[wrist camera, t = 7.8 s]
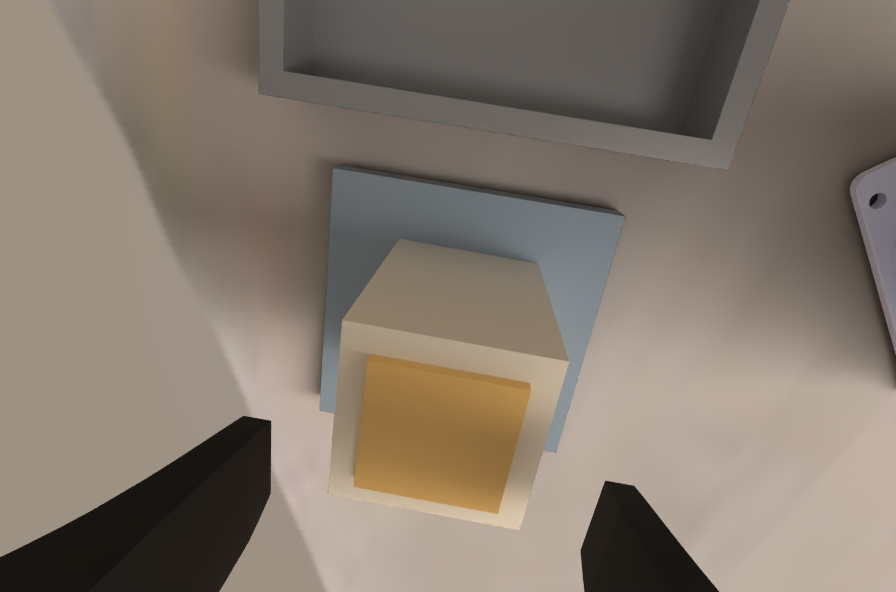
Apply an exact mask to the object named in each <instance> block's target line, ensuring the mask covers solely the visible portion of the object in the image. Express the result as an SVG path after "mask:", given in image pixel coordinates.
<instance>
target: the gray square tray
mask: <svg viewBox="0 0 896 592" xmlns="http://www.w3.org/2000/svg"><path fill="white" fill-rule="evenodd" d="M789 1H790V0H258V35H259V94H262V95H268V96H274V97H281V98H287V99H293V100H299V101H305V102H311V103H318V104H324V105H330V106H336V107H342V108H348V109H354V110H361V111H367V112H373V113H379V114H385V115H391V116H398V117H404V118H410V119H416V120H422V121H428V122H434V123H441V124H447V125H453V126H459V127H465V128H471V129H478V130H484V131H490V132H496V133H502V134H508V135H515V136H521V137H527V138H533V139H539V140H545V141H551V142H558V143H564V144H570V145H576V146H582V147H588V148H595V149H601V150H607V151H613V152H619V153H625V154H631V155H638V156H644V157H650V158H656V159H662V160H668V161H675V162H681V163H687V164H693V165H699V166H705V167H711V168H718V169H724V170H728V169H729V166H730V163H731V161H732V158H733V155H734V152H735V150H736V147H737V144H738V141H739V139H740V136H741V133H742V130H743V128H744V125H745V122H746V119H747V117H748V114H749V111H750V108H751V106H752V103H753V100H754V97H755V95H756V92H757V89H758V86H759V84H760V81H761V78H762V75H763V73H764V70H765V67H766V65H767V62H768V59H769V56H770V54H771V51H772V48H773V45H774V43H775V40H776V37H777V34H778V32H779V29H780V26H781V23H782V21H783V18H784V15H785V12H786V10H787V7H788V4H789Z"/></svg>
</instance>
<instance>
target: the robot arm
mask: <svg viewBox="0 0 896 592" xmlns="http://www.w3.org/2000/svg"><path fill="white" fill-rule="evenodd" d="M876 193H877V194H878V199H877V201H876V202H875V203H874V204H873V205H871V206H869V200H870V199H871V197H872V196H873V195H875V194H876ZM850 195H851V198H852V202H853V205H854V209H855V212H856V216H857V219H858V223H859V226H860V230H861V234H862V237H863V241H864V244H865V248H866V251H867V255H868V258H869V262H870V265H871V269H872V272H873V276H874V280H875V283H876V287H877V290H878V294H879V297H880V301H881V304H882V308H883V311H884V315H885V318H886V322H887V326H888V329H889V333H890V336H891V340H892V343H893V347H894V350H895V354H896V157H894V158H892V159H890V160H888V161H886V162H883V163H881V164H879V165H877V166H875V167H873V168H870V169H868V170H866V171H864V172H862V173H860V174H859V175H857V176H856V177H855V179H854V180H853V181H852V183H851V186H850ZM270 492H271V421H269V420H264V419H258V418H252V417H247V416H243V417H241V418H239V419H238V420H236V421H235V422H233V423H232V424H230V425H229V426H227V427H226V428H224V429H222V430H221V431H219V432H218V433H216V434H215V435H213V436H212V437H210V438H209V439H207V440H206V441H204V442H203V443H201V444H200V445H198V446H197V447H195V448H193V449H192V450H191V451H189V452H188V453H186V454H184V455H183V456H181V457H180V458H178V459H177V460H175V461H174V462H172V463H170V464H169V465H167V466H165V467H164V468H162V469H161V470H159V471H158V472H156V473H154V474H153V475H151V476H150V477H148V478H147V479H145V480H143V481H142V482H140V483H138V484H136V485H135V486H133V487H131V488H129V489H128V490H126V491H124V492H123V493H121V494H119V495H118V496H116V497H114V498H113V499H111V500H109V501H108V502H106V503H104V504H102V505H100V506H99V507H97V508H95V509H94V510H92V511H90V512H88V513H86V514H85V515H83V516H81V517H79V518H77V519H75V520H73V521H72V522H70V523H68V524H66V525H64V526H62V527H60V528H58V529H56V530H54V531H53V532H51V533H48V534H46V535H45V536H42V537H41V538H38V539H37V540H34V541H33V542H31V543H29V544H27V545H25V546H23V547H21V548H19V549H17V550H15V551H12V552H10V553H8V554H6V555H4V556H2V557H0V592H219V591H220V589H221V588H222V586H223V584H224V583H225V581H226V579H227V578H228V576H229V574H230V572H231V571H232V569H233V567H234V565H235V564H236V562H237V561H238V559H239V557H240V556H241V554H242V552H243V550H244V549H245V547H246V545H247V544H248V542H249V540H250V537H251V536H252V533H253V532H254V529H255V527H256V525H257V523H258V521H259V519H260V516H261V514H262V512H263V510H264V507H265V505H266V503H267V500H268V498H269V496H270ZM581 561H582V572H583V582H584V591H585V592H719V591H718V590H717V588H716V587H715V586H714V585H713V584H712V582H711V581H710V580H709V579H708V578H707V576H706V575H705V574H704V573H703V572H702V570H701V569H700V568H699V567H698V566H697V564H696V563H695V562H694V561H693V559H692V558H691V557H690V556H689V554H688V553H687V552H686V551H685V549H684V548H683V547H682V546H681V544H680V543H679V542H678V541H677V539H676V538H675V537H674V536H673V534H672V533H671V532H670V530H669V529H668V528H667V527H666V525H665V524H664V523H663V522H662V520H661V519H660V518H659V516H658V515H657V514H656V513H655V511H654V510H653V509H652V507H651V506H650V505H649V504H648V502H647V501H646V500H645V499H644V497H643V496H642V495H641V494H640V492H639V491H638V490H637V489H636V487H635V486H632V485H626V484H621V483H615V482H610V481H605V483H604V486H603V489H602V491H601V494H600V497H599V500H598V503H597V506H596V508H595V511H594V514H593V517H592V520H591V522H590V525H589V528H588V531H587V534H586V537H585V539H584V542H583V545H582V548H581Z"/></svg>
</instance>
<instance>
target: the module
mask: <svg viewBox="0 0 896 592" xmlns="http://www.w3.org/2000/svg"><path fill="white" fill-rule="evenodd" d="M568 365H569V359H568V356H567V353H566V349H565V346H564V343H563V340H562V337H561V333H560V330H559V327H558V324H557V321H556V317H555V314H554V311H553V308H552V305H551V302H550V298H549V295H548V292H547V289H546V286H545V282H544V279H543V276H542V273H541V270H540V266H539V264H538V263H533V262H527V261H522V260H516V259H510V258H505V257H499V256H494V255H488V254H482V253H477V252H471V251H466V250H460V249H455V248H449V247H443V246H438V245H432V244H427V243H421V242H416V241H410V240H404V239H399V240H398V241H397V243H396V244H395V246H394V247H393V249H392V250H391V251H390V253H389V254H388V256H387V257H386V259H385V260H384V261H383V263H382V264H381V266H380V267H379V269H378V270H377V271H376V273H375V274H374V276H373V277H372V279H371V280H370V281H369V283H368V284H367V286H366V287H365V288H364V290H363V291H362V293H361V294H360V296H359V297H358V298H357V300H356V301H355V303H354V304H353V306H352V307H351V308H350V310H349V311H348V313H347V314H346V316H345V317H344V318H343V320H342V329H341V341H340V353H339V365H338V377H337V389H336V401H335V413H334V424H333V436H332V448H331V460H330V472H329V484H328V494H331V495H336V496H341V497H346V498H352V499H357V500H362V501H367V502H373V503H378V504H383V505H389V506H394V507H399V508H404V509H410V510H415V511H420V512H425V513H431V514H436V515H441V516H447V517H452V518H457V519H462V520H468V521H473V522H478V523H483V524H489V525H494V526H499V527H505V528H510V529H515V530H520V527H521V523H522V520H523V517H524V513H525V510H526V506H527V503H528V500H529V496H530V493H531V490H532V486H533V483H534V479H535V476H536V473H537V469H538V466H539V463H540V459H541V456H542V452H543V449H544V446H545V442H546V439H547V436H548V432H549V429H550V425H551V422H552V419H553V415H554V412H555V409H556V405H557V402H558V398H559V395H560V392H561V388H562V385H563V382H564V378H565V375H566V371H567V368H568Z"/></svg>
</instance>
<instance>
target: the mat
mask: <svg viewBox="0 0 896 592" xmlns="http://www.w3.org/2000/svg"><path fill="white" fill-rule="evenodd" d="M624 220H625V216H624V215H623V214H622V213H620V212H619V211H617V210H611V209H605V208H599V207H593V206H587V205H581V204H575V203H569V202H563V201H557V200H551V199H545V198H539V197H533V196H527V195H521V194H515V193H509V192H502V191H496V190H490V189H484V188H478V187H472V186H466V185H460V184H454V183H448V182H442V181H436V180H430V179H424V178H418V177H412V176H406V175H400V174H393V173H387V172H381V171H375V170H369V169H363V168H357V167H351V166H345V165H340V166H337V167H335V168H333V177H332V195H331V213H330V231H329V249H328V267H327V285H326V303H325V321H324V339H323V357H322V375H321V393H320V411H324V412H330V413H335V401H336V389H337V377H338V365H339V353H340V341H341V329H342V320H343V318H344V317H345V316H346V314H347V313H348V311H349V310H350V308H351V307H352V306H353V304H354V303H355V301H356V300H357V298H358V297H359V296H360V294H361V293H362V291H363V290H364V288H365V287H366V286H367V284H368V283H369V281H370V280H371V279H372V277H373V276H374V274H375V273H376V271H377V270H378V269H379V267H380V266H381V264H382V263H383V261H384V260H385V259H386V257H387V256H388V254H389V253H390V251H391V250H392V249H393V247H394V246H395V244H396V243H397V241H398V240H399V239H404V240H410V241H416V242H421V243H427V244H432V245H438V246H443V247H449V248H455V249H460V250H466V251H471V252H477V253H482V254H488V255H494V256H499V257H505V258H510V259H516V260H522V261H527V262H533V263H538V264H539V266H540V270H541V273H542V276H543V279H544V282H545V286H546V289H547V292H548V295H549V298H550V302H551V305H552V308H553V311H554V314H555V317H556V321H557V324H558V327H559V330H560V333H561V337H562V340H563V343H564V346H565V349H566V353H567V356H568V359H569V365H568V368H567V371H566V375H565V378H564V382H563V385H562V388H561V392H560V395H559V398H558V402H557V405H556V409H555V412H554V415H553V419H552V422H551V425H550V429H549V432H548V436H547V439H546V442H545V446H544V449H543V450H544V451H550V452H556V450H557V447H558V444H559V440H560V437H561V433H562V430H563V427H564V423H565V420H566V416H567V413H568V410H569V406H570V403H571V400H572V396H573V393H574V389H575V386H576V383H577V379H578V376H579V372H580V369H581V366H582V362H583V359H584V355H585V352H586V349H587V345H588V342H589V338H590V335H591V332H592V328H593V325H594V322H595V318H596V315H597V311H598V308H599V305H600V301H601V298H602V294H603V291H604V288H605V284H606V281H607V277H608V274H609V271H610V267H611V264H612V261H613V257H614V254H615V250H616V247H617V244H618V240H619V237H620V233H621V230H622V227H623V223H624Z"/></svg>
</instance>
